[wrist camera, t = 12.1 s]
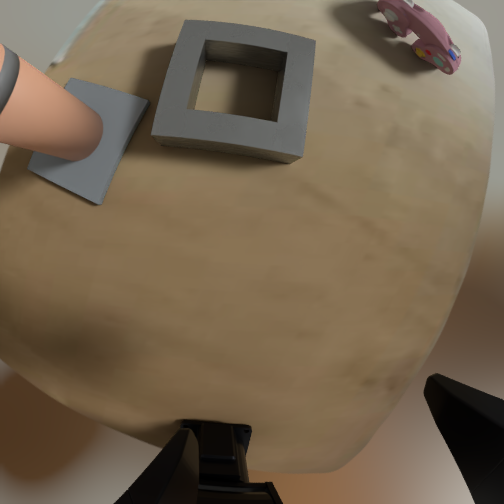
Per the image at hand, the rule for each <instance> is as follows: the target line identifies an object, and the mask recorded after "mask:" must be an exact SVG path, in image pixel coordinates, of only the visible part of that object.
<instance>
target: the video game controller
mask: <svg viewBox="0 0 504 504" xmlns="http://www.w3.org/2000/svg"><path fill="white" fill-rule="evenodd" d="M377 7H378V9H379V10H380V11H381V12H382V14H383V15H384V16H385V18H386V19H387V22H388V26H389V27H390V29H391V30H392V31H393V32H394V33H396V34H397V35H398V36H400V37H406V36H407V35H409V34H410V33H411V32H412V31H413V32H414V33H415V34H416V35H417V36H418V37H419V38H420V39H418V40H416V41H415V42H414V43H413V44H412V49H413V51H414V52H415V53H416V54H417V55H418V56H419V57H420V58H421V59H423V60H425V61H428V62H430V63H432V64H433V65H434V66H436V67H437V68H438V69H439V70H441V71H442V72H444V73H446V74H449V75H451V74H453V73H454V72H455V71H456V70H457V69H458V67H459V65H460V63H461V55H460V54H461V51H460V49H459V48H458V47H457V46H456V45H454V44H453V42H452V40H451V38H450V36H449V35H448V33H447V32H446V30H445V28H444V26H443V25H442V24H441V23H440V22H439V20H438V19H437V18H435V17H434V16H433V15H432V14H430V13H429V12H427V11H425V10H424V9H423V8H421V7H419V6H418V5H416V4H415V3H414V2H413V1H412V0H379V1H378V3H377Z"/></svg>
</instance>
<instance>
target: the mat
mask: <svg viewBox="0 0 504 504" xmlns="http://www.w3.org/2000/svg"><path fill="white" fill-rule="evenodd" d="M64 89H65V90H67V91H68V92H69V93H71V94H72V95H74V96H75V97H76V98H78V99H79V100H80V101H82V102H83V103H84V104H86V105H87V106H88V107H90V108H91V109H93V110H94V111H95V112H97V113H98V114H99V116H100V117H101V119H102V122H103V134H102V138H101V141H100V143H99V145H98V146H97V148H96V149H95V151H94V152H93V153H92V154H91V155H89V156H88V157H87V158H85V159H83V160H80V161H70V160H67V159H63V158H59V157H56V156H52V155H48V154H44V153H40V152H37V151H34V152H33V155H32V157H31V160H30V162H29V165H28V168H27V169H28V170H30V171H32V172H34V173H36V174H38V175H40V176H42V177H44V178H46V179H48V180H50V181H52V182H54V183H56V184H58V185H60V186H62V187H64V188H66V189H68V190H70V191H72V192H74V193H76V194H78V195H80V196H82V197H84V198H86V199H88V200H90V201H92V202H94V203H96V204H102V202H103V199H104V197H105V194H106V192H107V189H108V187H109V185H110V182H111V180H112V178H113V175H114V173H115V171H116V168H117V166H118V164H119V162H120V160H121V158H122V156H123V153H124V151H125V149H126V147H127V145H128V143H129V141H130V139H131V137H132V135H133V133H134V132H135V130H136V128H137V126H138V124H139V122H140V120H141V119H142V117H143V115H144V113H145V111H146V110H147V108H148V106H149V105H150V102H149V100H146V99H143V98H140V97H137V96H134V95H131V94H128V93H125V92H122V91H118V90H115V89H112V88H108V87H105V86H101V85H98V84H94V83H90V82H86V81H82V80H78V79H74V78H70V79H69V81H68V83H67V84H66V86H65V88H64Z"/></svg>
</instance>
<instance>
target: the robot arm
mask: <svg viewBox="0 0 504 504" xmlns="http://www.w3.org/2000/svg"><path fill="white" fill-rule="evenodd" d="M424 397H425V399H426V401H427V404H428V406H429V408H430V411H431V413H432V416H433V418H434V421H435V423H436V425H437V427H438V429H439V431H440V433H441V434H442V436H443V438H444V440H445V442H446V444H447V445H448V448H449V449H450V451H451V453H452V455H453V457H454V459H455V461H456V463H457V465H458V467H459V469H460V471H461V473H462V476H463V478H464V480H465V482H466V484H467V486H468V488H469V490H470V493H471V495H472V498H473V500H474V502H475V504H504V400H503V399H500V398H498V397H495V396H492V395H490V394H487V393H485V392H482V391H480V390H477V389H475V388H472V387H470V386H467V385H465V384H462V383H460V382H458V381H455V380H453V379H450V378H448V377H445V376H443V375H441V374H438V373H435V374H433V375H431V376H429V377H428V378H427V381H426V385H425V388H424ZM186 425H187V426H186ZM251 433H252V428H251V426H249V425H235V424H219V423H207V422H197V421H188V420H183V421H182V422H181V425H180V429H179V430H178V431H177V432H176V434H175V435H174V436H173V437H172V438H171V440H170V441H169V442H168V443H167V444H166V446H165V447H164V448H163V449H162V450H161V452H160V453H159V454H158V455H157V456H156V458H155V459H154V460H153V461H152V462H151V463H150V465H149V466H148V467H147V468H146V469H145V470H144V472H143V473H142V474H141V475H140V476H139V477H138V478H137V479H136V480H135V482H134V483H133V484H132V485H131V486H130V487H129V488H128V490H126V492H125V493H124V494H123V495H122V496H121V497H120V498H119V499H118V500H117V501H116V502H115V503H114V504H283V502H282V501H281V499H280V497H279V495H278V493H277V491H276V489H275V487H274V485H273V483H272V482H265V483H249V477H248V471H247V464H246V453H247V449H248V445H249V441H250V437H251Z"/></svg>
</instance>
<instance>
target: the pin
mask: <svg viewBox="0 0 504 504" xmlns="http://www.w3.org/2000/svg"><path fill="white" fill-rule="evenodd" d="M102 134H103V122H102V119H101V117H100V116H99V114H98V113H97V112H95V111H94V110H93V109H91V108H90V107H88V106H87V105H86V104H84V103H83V102H82V101H80V100H79V99H78V98H76V97H75V96H74V95H72V94H71V93H69V92H68V91H67V90H65V89H64V88H63V87H61V86H60V85H58V84H57V83H56V82H54V81H53V80H51V79H50V78H49V77H47V76H46V75H44V74H43V73H42V72H40V71H39V70H37V69H36V68H35V67H33V66H32V65H30V64H29V63H28V62H26V61H25V60H23V59H22V58H20V57H19V56H18V55H17V54H15V53H14V52H12V51H11V50H10V49H8V48H7V47H5V46H4V45H3V44H1V43H0V143H5V144H8V145H13V146H17V147H21V148H25V149H29V150H33V151H37V152H40V153H44V154H48V155H52V156H56V157H59V158H63V159H67V160H70V161H80V160H83V159H85V158H87V157H88V156H89V155H91V154H92V153H93V152H94V151H95V149H96V148H97V146H98V145H99V143H100V141H101V138H102Z"/></svg>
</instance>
